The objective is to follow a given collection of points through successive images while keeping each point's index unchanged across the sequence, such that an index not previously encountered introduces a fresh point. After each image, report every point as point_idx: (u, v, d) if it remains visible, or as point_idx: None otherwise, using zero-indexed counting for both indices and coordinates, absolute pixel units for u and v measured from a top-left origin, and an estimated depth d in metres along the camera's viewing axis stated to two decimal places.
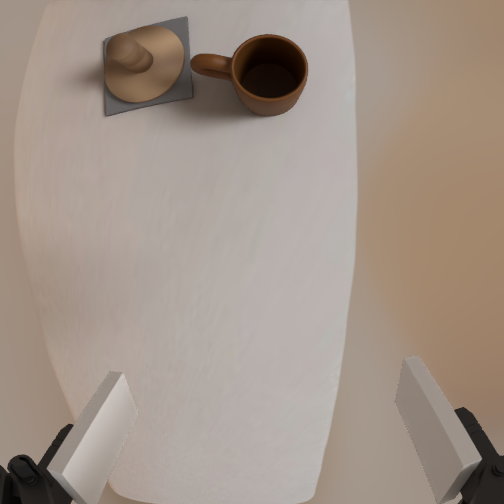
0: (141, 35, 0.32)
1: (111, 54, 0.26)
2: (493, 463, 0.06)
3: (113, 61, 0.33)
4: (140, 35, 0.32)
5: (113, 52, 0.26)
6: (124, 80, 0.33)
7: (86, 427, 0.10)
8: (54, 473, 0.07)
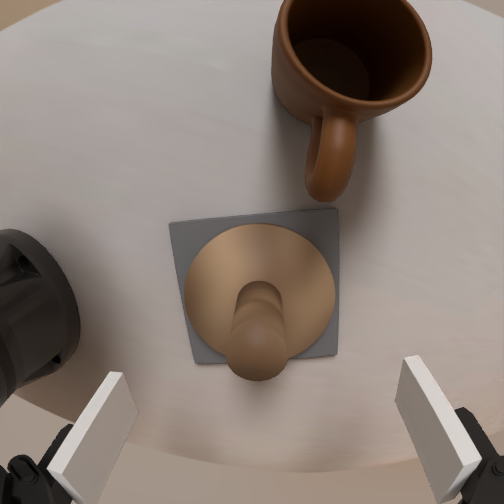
0: (203, 304, 0.23)
1: (274, 369, 0.16)
2: (493, 463, 0.06)
3: None
4: (203, 305, 0.23)
5: (270, 366, 0.16)
6: (288, 330, 0.23)
7: (86, 427, 0.10)
8: (54, 473, 0.07)
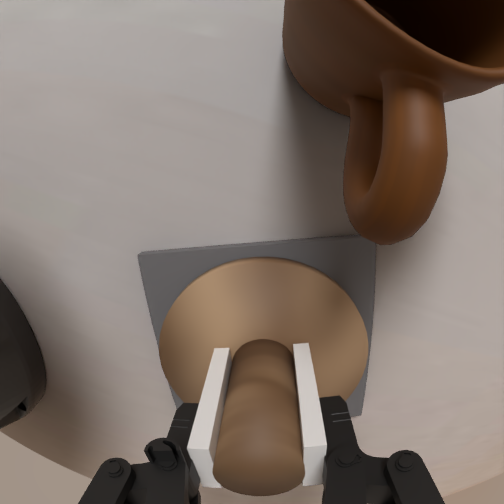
0: (185, 365, 0.16)
1: (283, 486, 0.09)
2: (336, 456, 0.08)
3: None
4: (185, 366, 0.16)
5: (278, 484, 0.09)
6: None
7: (215, 400, 0.11)
8: (196, 451, 0.09)
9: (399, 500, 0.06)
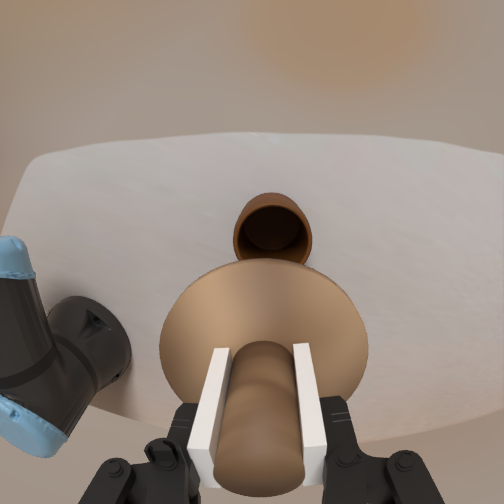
0: (186, 367, 0.16)
1: (284, 487, 0.09)
2: (336, 456, 0.08)
3: None
4: (186, 368, 0.16)
5: (278, 485, 0.09)
6: None
7: (215, 400, 0.11)
8: (195, 451, 0.09)
9: (399, 500, 0.06)
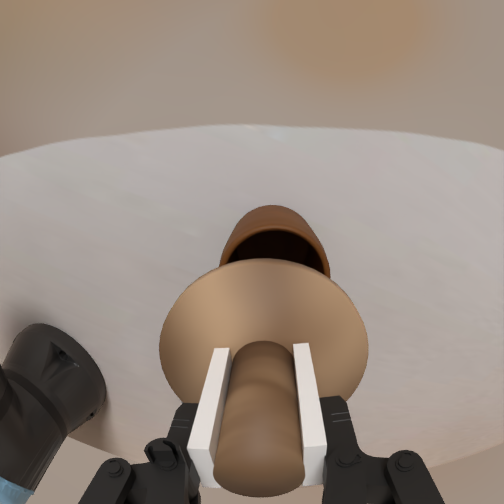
0: (186, 367, 0.16)
1: (284, 488, 0.09)
2: (336, 456, 0.08)
3: None
4: (186, 368, 0.16)
5: (278, 485, 0.09)
6: None
7: (215, 400, 0.11)
8: (195, 451, 0.09)
9: (399, 500, 0.06)
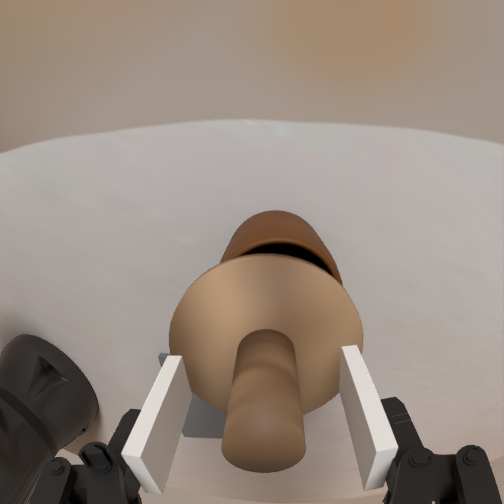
0: (193, 354, 0.17)
1: (286, 462, 0.10)
2: (409, 455, 0.07)
3: None
4: (193, 355, 0.17)
5: (280, 460, 0.10)
6: (301, 385, 0.18)
7: (156, 409, 0.11)
8: (129, 458, 0.08)
9: (462, 492, 0.05)
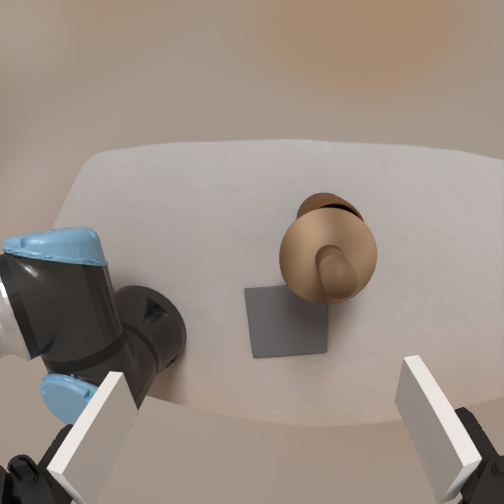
0: (292, 260, 0.34)
1: (350, 290, 0.28)
2: (493, 463, 0.06)
3: (318, 294, 0.35)
4: (292, 261, 0.34)
5: (348, 288, 0.27)
6: None
7: (86, 427, 0.10)
8: (54, 473, 0.07)
9: None
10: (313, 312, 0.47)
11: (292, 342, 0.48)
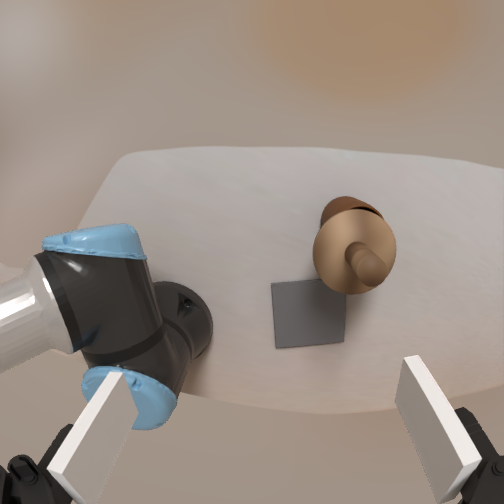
0: (324, 255, 0.39)
1: (380, 279, 0.32)
2: (493, 463, 0.06)
3: (346, 285, 0.39)
4: (324, 256, 0.39)
5: (378, 278, 0.32)
6: None
7: (86, 427, 0.10)
8: (54, 473, 0.07)
9: None
10: (332, 304, 0.51)
11: (313, 333, 0.52)
